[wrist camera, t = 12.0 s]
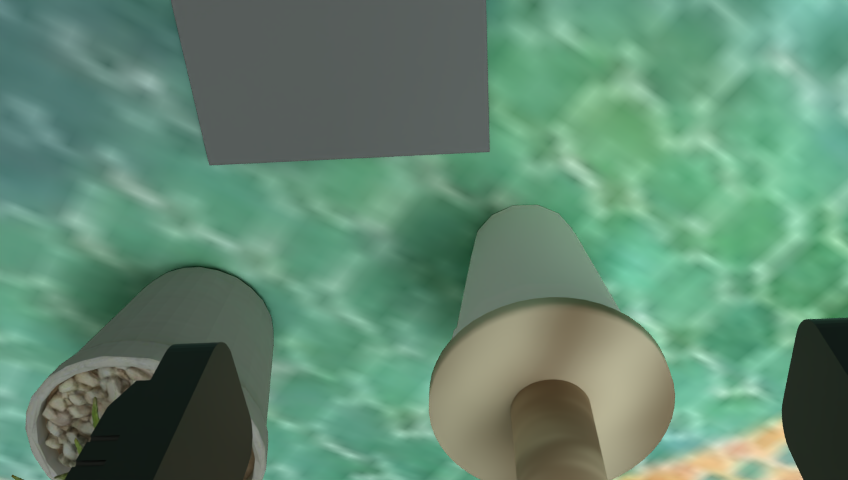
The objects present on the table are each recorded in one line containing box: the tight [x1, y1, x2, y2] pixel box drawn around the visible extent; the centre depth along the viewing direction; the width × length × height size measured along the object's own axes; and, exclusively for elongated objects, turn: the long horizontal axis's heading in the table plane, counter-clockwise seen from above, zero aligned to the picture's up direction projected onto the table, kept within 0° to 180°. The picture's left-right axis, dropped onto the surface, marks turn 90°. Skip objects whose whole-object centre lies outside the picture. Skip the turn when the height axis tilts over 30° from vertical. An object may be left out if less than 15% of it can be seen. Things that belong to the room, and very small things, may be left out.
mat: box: [171, 0, 490, 165], centre depth 39 cm, size 16×12×1 cm
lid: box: [429, 297, 675, 480], centre depth 31 cm, size 11×11×8 cm
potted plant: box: [11, 267, 274, 480], centre depth 41 cm, size 13×14×20 cm
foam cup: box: [452, 205, 621, 338], centre depth 40 cm, size 10×9×13 cm
